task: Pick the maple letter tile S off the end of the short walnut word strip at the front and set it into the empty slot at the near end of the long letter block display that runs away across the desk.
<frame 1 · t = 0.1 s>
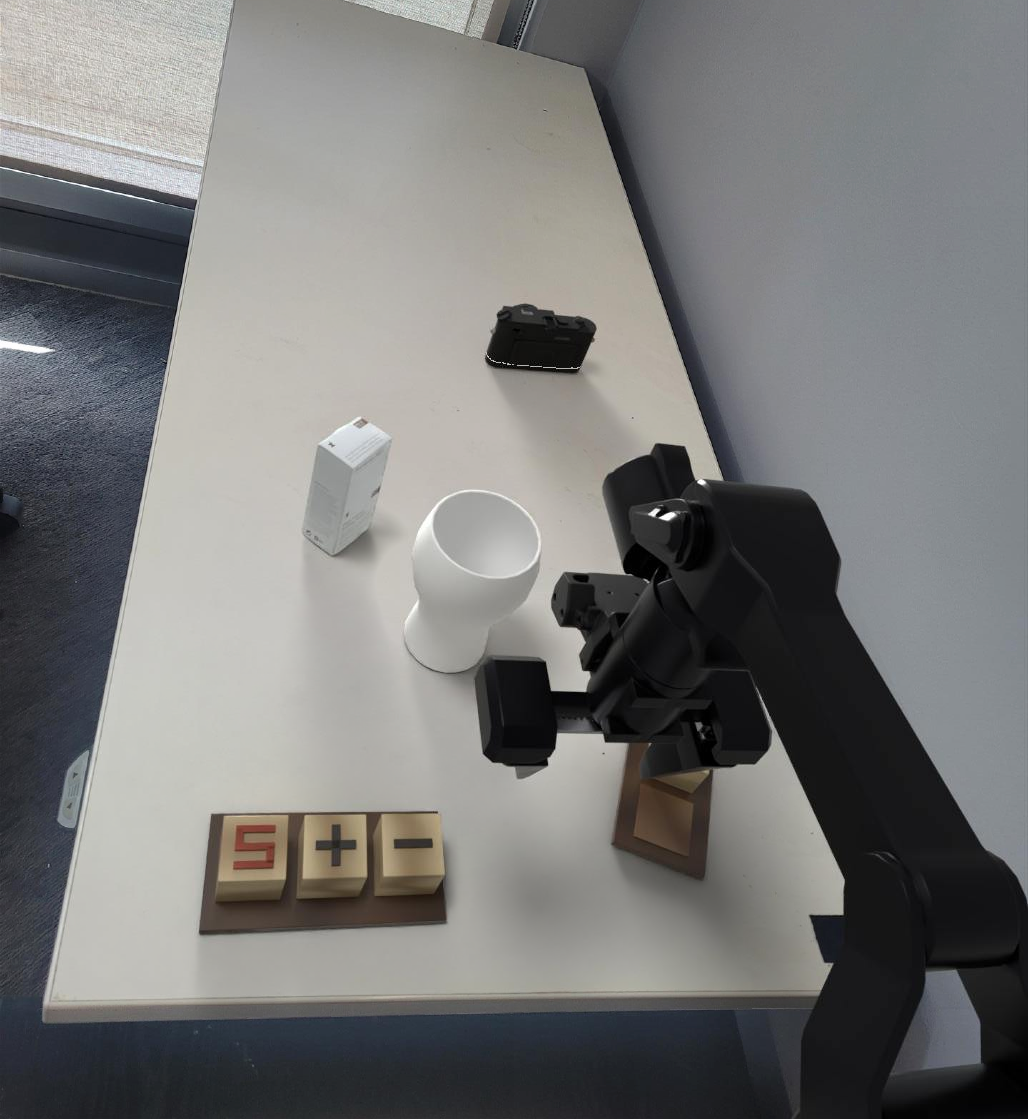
hand: (581, 772, 63), 13 cm above the table, tool pointing down, fingers open, 9 cm apart
letter block display: (674, 708, 85), on the table
cup: (444, 637, 84), on the table
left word: (327, 869, 66), on the table
cosmetic box: (336, 529, 90), on the table
camera: (529, 357, 119), on the table
letter s tile: (249, 868, 64), point 1 cm above the table, touching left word
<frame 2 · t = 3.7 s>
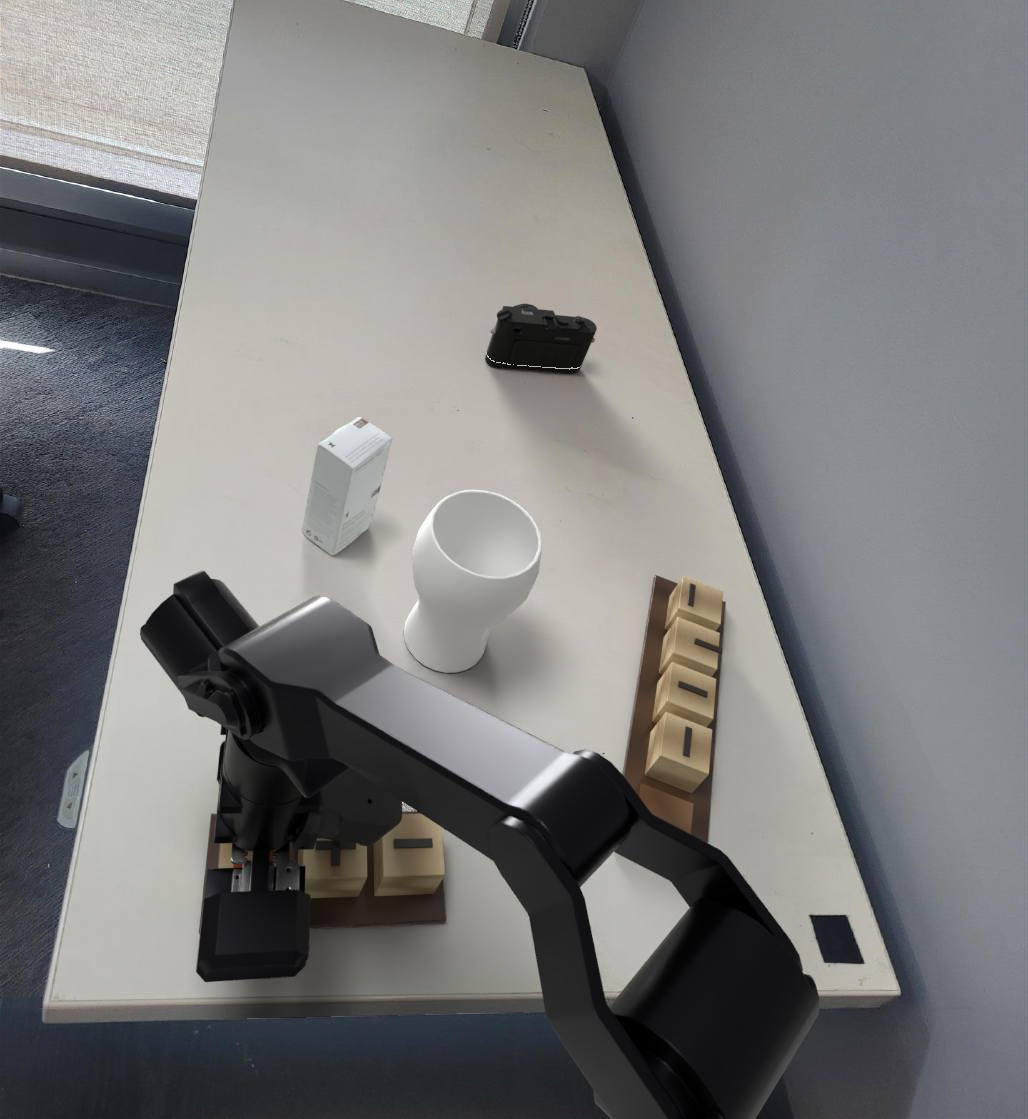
hand: (250, 864, 64), 1 cm above the table, tool pointing down, fingers closed on letter s tile, 4 cm apart
letter s tile: (249, 867, 64), point 1 cm above the table, touching gripper, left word
everything else where it was.
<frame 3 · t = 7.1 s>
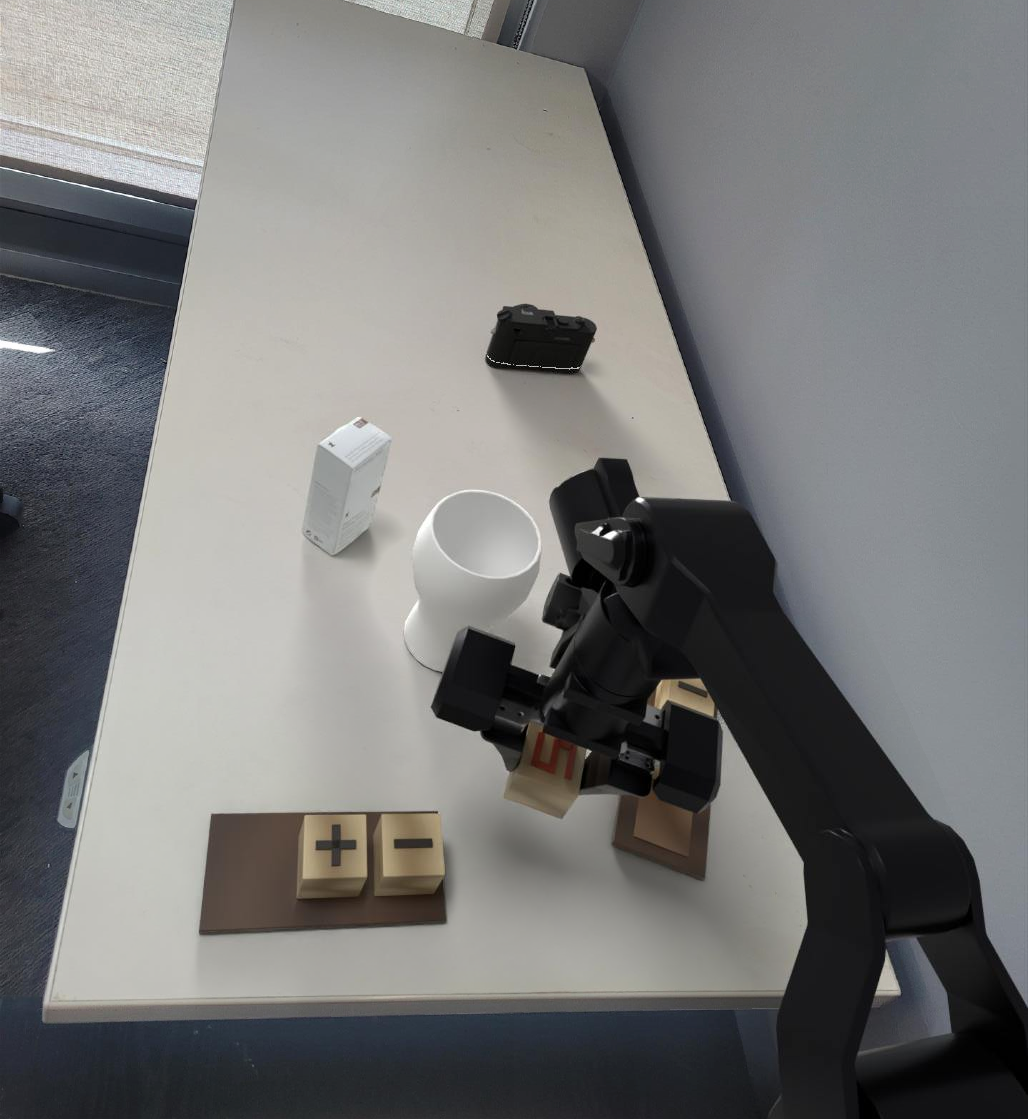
hand: (541, 776, 64), 11 cm above the table, tool pointing down, fingers closed on letter s tile, 4 cm apart
letter s tile: (538, 780, 65), point 10 cm above the table, touching gripper
everything else where it was.
when the fingers open (1 cm above the table, at t = 10.6 s): letter s tile stays where it is, resting on letter block display.
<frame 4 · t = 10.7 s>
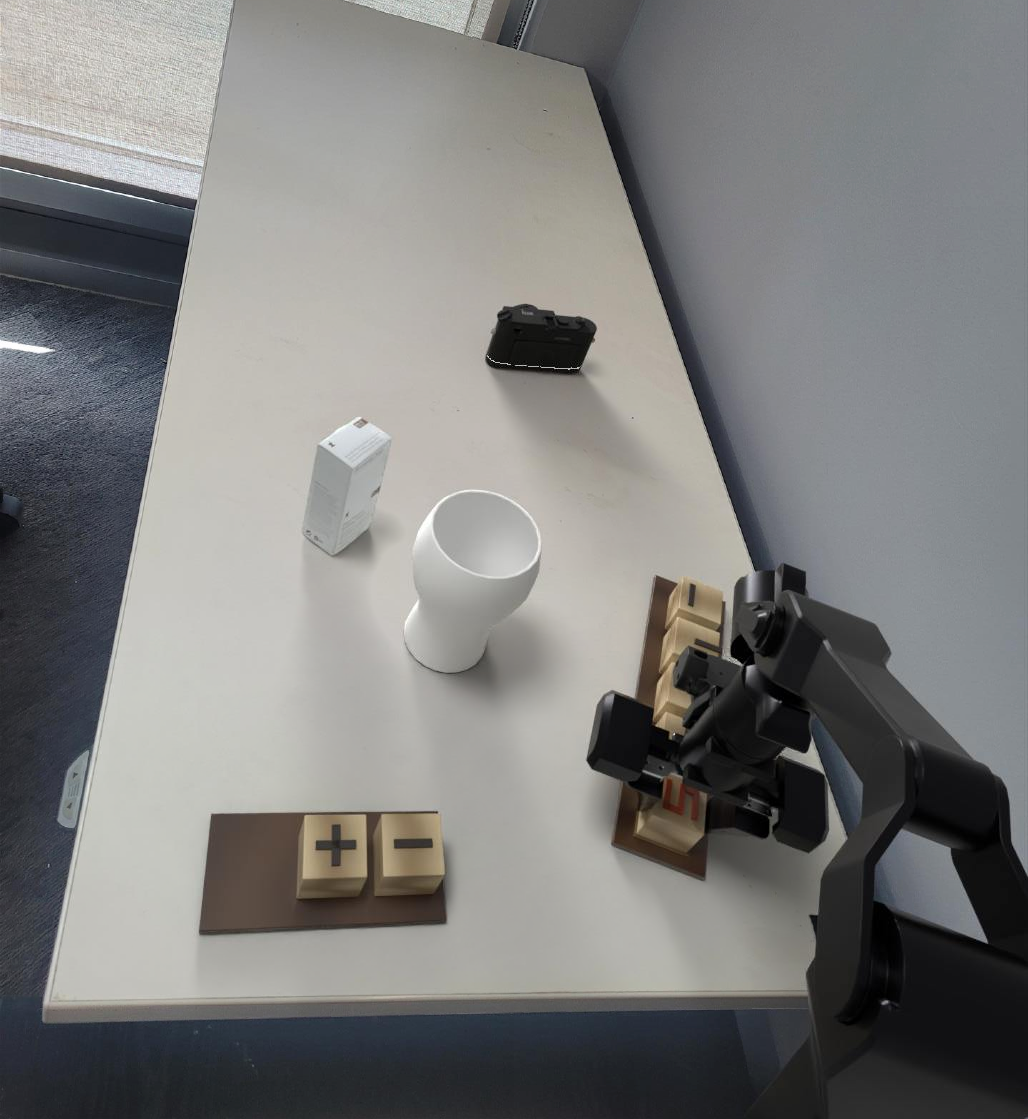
hand: (666, 816, 76), 1 cm above the table, tool pointing down, fingers open, 4 cm apart
letter s tile: (664, 819, 76), point 1 cm above the table, touching letter block display
everything else where it was.
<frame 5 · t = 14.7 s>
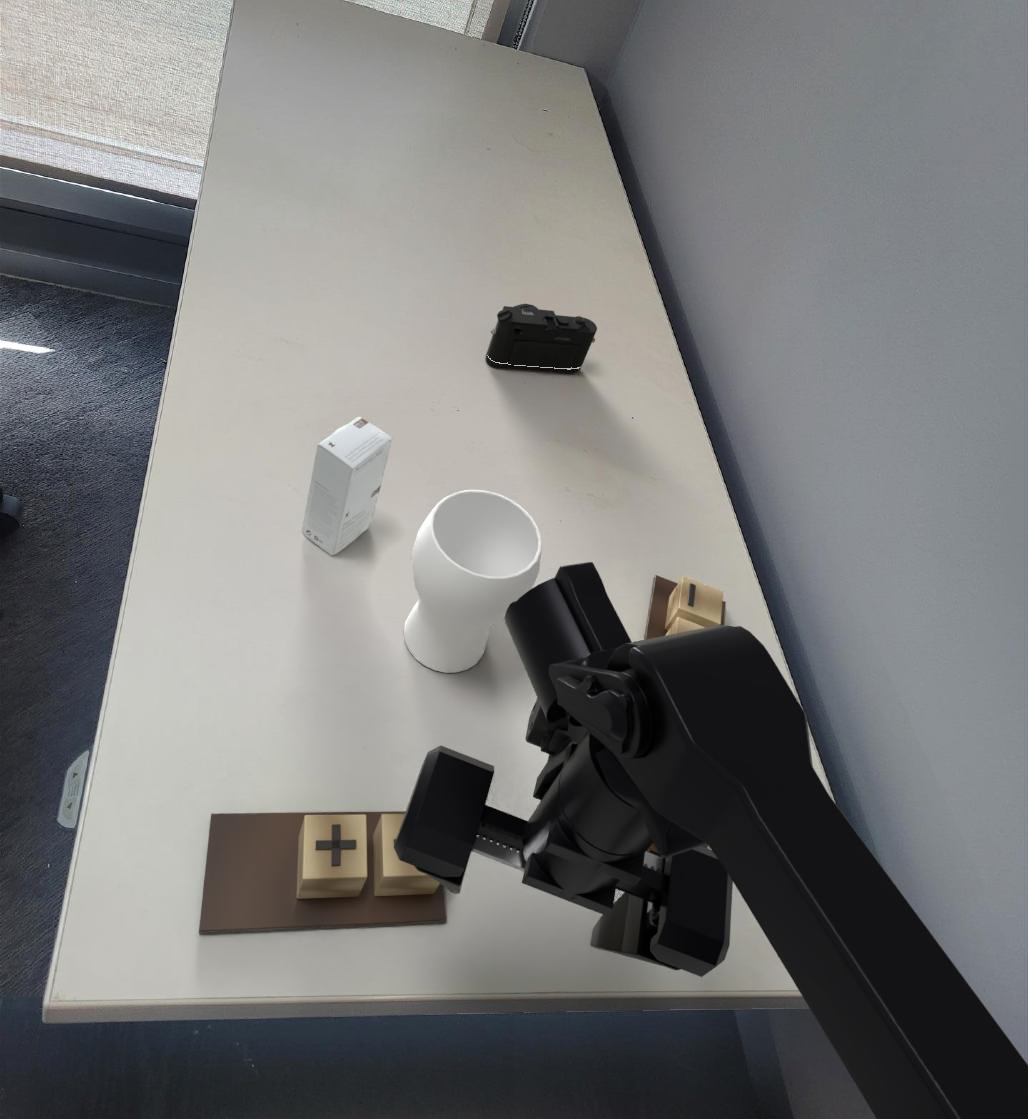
hand: (524, 911, 56), 12 cm above the table, tool pointing down, fingers open, 9 cm apart
nothing on the table moved.
at the end: letter s tile 0.1 cm from the target spot on the letter block display, point 0.7 cm above the letter block display's base; letter s tile tilted 0°; the gripper is holding nothing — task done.
